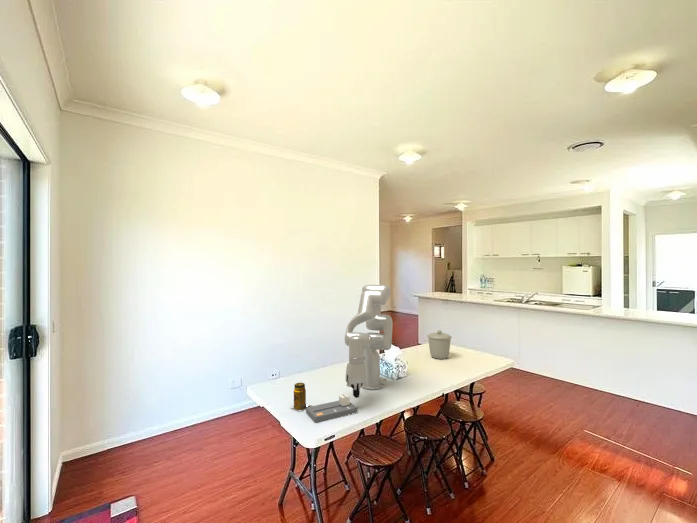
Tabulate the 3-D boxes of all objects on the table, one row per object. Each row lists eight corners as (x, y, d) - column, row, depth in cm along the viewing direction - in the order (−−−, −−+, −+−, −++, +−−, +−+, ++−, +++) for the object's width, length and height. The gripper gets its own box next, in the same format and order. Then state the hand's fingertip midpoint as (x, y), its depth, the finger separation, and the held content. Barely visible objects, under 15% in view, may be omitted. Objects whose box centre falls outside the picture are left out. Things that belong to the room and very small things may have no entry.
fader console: (346, 403, 175) (345, 398, 175) (357, 412, 164) (357, 407, 164) (306, 412, 164) (306, 407, 164) (315, 422, 154) (315, 417, 154)
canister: (446, 354, 269) (446, 327, 269) (455, 360, 251) (455, 332, 251) (424, 354, 268) (424, 328, 268) (431, 361, 250) (431, 332, 250)
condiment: (290, 408, 170) (290, 384, 170) (302, 402, 176) (302, 379, 176) (299, 412, 165) (299, 387, 165) (312, 406, 172) (312, 383, 172)
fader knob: (346, 402, 170) (346, 393, 170) (349, 404, 167) (349, 396, 167) (339, 403, 168) (339, 395, 168) (342, 406, 165) (342, 398, 165)
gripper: (365, 357, 177) (365, 392, 177) (339, 360, 170) (339, 397, 170) (372, 360, 171) (372, 396, 170) (346, 364, 164) (346, 402, 163)
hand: (356, 396), depth 170 cm, fingers closed
